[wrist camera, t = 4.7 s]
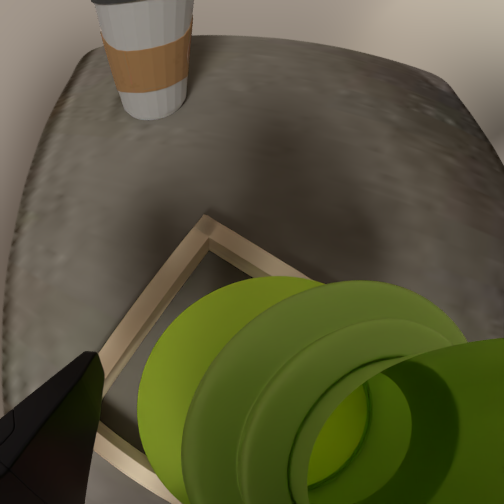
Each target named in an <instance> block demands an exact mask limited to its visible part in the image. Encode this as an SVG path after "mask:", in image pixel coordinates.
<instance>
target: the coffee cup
mask: <svg viewBox="0 0 504 504" xmlns="http://www.w3.org/2000/svg"><path fill="white" fill-rule="evenodd" d="M91 2H93V3H94V4H95V8H96V12H97V16H98V20H99V24H100V28H101V32H100V33H101V36H102V40H103V44H104V47H105V51H106V54H107V58H108V61H109V65H110V68H111V71H112V75H113V78H114V81H115V84H116V87H117V90H118V91H119V94H120V97H121V100H122V103H123V106H124V109H125V110H126V111H127V112H128V113H129V114H130V115H131V116H132V117H134V118H137V119H141V120H155V119H160V118H163V117H166V116H168V115H170V114H172V113H174V112H175V111H176V110H178V109H179V108H180V106H181V105H182V103H183V101H184V100H185V98H186V94H187V76H188V73H189V59H190V46H191V34H192V24H193V15H192V12H193V4H194V3H193V2H194V0H91Z"/></svg>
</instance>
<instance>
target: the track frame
mask: <svg viewBox="0 0 504 504" xmlns="http://www.w3.org/2000/svg"><path fill="white" fill-rule="evenodd" d="M209 250H210V251H211V252H213V253H215V254H216V255H218V256H219V257H221V258H222V259H224V260H226V261H227V262H229V263H230V264H232V265H234V266H235V267H237V268H238V269H240V270H241V271H243V272H245V273H246V274H248V275H249V276H251V277H253V278H258V277H267V276H290V277H299V278H305V279H310V278H309V277H307V276H305V275H304V274H302V273H300V272H299V271H297V270H296V269H294V268H292V267H291V266H289V265H287V264H286V263H284V262H283V261H281V260H279V259H278V258H276V257H274V256H273V255H271V254H270V253H268V252H266V251H265V250H263V249H261V248H260V247H258V246H257V245H255V244H253V243H252V242H250V241H248V240H247V239H245V238H243V237H242V236H240V235H239V234H237V233H235V232H234V231H232V230H230V229H229V228H227V227H225V226H224V225H222V224H221V223H219V222H217V221H216V220H214V219H212V218H211V217H209V216H207V215H206V214H204V215H203V216H202V217H201V219H200V220H199V221H198V222H197V223H196V225H195V226H194V227H193V228H192V230H191V231H190V232H189V233H188V235H187V236H186V237H185V238H184V240H183V241H182V242H181V243H180V245H179V246H178V247H177V248H176V250H175V251H174V252H173V253H172V255H171V256H170V257H169V258H168V260H167V261H166V262H165V264H164V265H163V266H162V267H161V269H160V270H159V271H158V273H157V274H156V275H155V276H154V278H153V279H152V280H151V282H150V283H149V284H148V286H147V287H146V288H145V290H144V291H143V292H142V294H141V295H140V296H139V298H138V299H137V300H136V302H135V303H134V304H133V306H132V307H131V309H130V310H129V311H128V313H127V314H126V315H125V317H124V318H123V320H122V321H121V322H120V324H119V325H118V326H117V328H116V329H115V331H114V332H113V333H112V335H111V336H110V338H109V339H108V341H107V342H106V343H105V345H104V346H103V348H102V349H101V351H100V352H99V354H98V355H99V357H100V360H101V363H102V366H103V369H104V373H105V380H104V387H103V395H102V399H103V398H104V396H105V395H106V393H107V392H108V390H109V389H110V387H111V386H112V384H113V383H114V381H115V380H116V378H117V377H118V376H119V374H120V373H121V371H122V370H123V368H124V367H125V365H126V364H127V362H128V361H129V360H130V358H131V357H132V355H133V354H134V352H135V351H136V350H137V348H138V347H139V345H140V344H141V342H142V341H143V340H144V338H145V337H146V335H147V334H148V333H149V331H150V330H151V328H152V327H153V326H154V324H155V323H156V321H157V320H158V319H159V317H160V316H161V314H162V313H163V312H164V310H165V309H166V308H167V306H168V305H169V303H170V302H171V301H172V299H173V298H174V297H175V295H176V294H177V293H178V291H179V290H180V288H181V287H182V286H183V284H184V283H185V282H186V280H187V279H188V278H189V276H190V275H191V274H192V272H193V271H194V270H195V268H196V267H197V266H198V264H199V263H200V262H201V260H202V259H203V258H204V256H205V255H206V254H207V252H208V251H209ZM310 280H312V279H310ZM93 450H94V451H95V452H97V453H98V454H99V455H100V456H102V457H103V458H104V459H105V460H107V461H108V462H109V463H111V464H112V465H113V466H115V467H116V468H117V469H119V470H120V471H122V472H123V473H124V474H126V475H127V476H129V477H130V478H132V479H133V480H135V481H136V482H138V483H139V484H141V485H142V486H144V487H145V488H147V489H148V490H150V491H152V492H153V493H155V494H156V495H158V496H160V497H161V498H163V499H165V500H167V501H168V502H170V503H172V504H182V503H181V502H180V501H179V500H178V499H176V498H175V497H174V496H173V495H172V494H171V493H170V492H169V490H168V489H167V488H166V487H165V486H164V485H163V483H162V482H161V481H160V479H159V478H158V476H157V475H156V473H155V472H154V470H153V468H152V467H151V465H150V463H149V461H148V458H147V456H146V455H145V454H143V453H142V452H140V451H139V450H137V449H136V448H134V447H133V446H132V445H130V444H129V443H128V442H126V441H125V440H124V439H122V438H121V437H120V436H118V435H117V434H116V433H114V432H113V431H112V430H111V429H109V428H108V427H107V426H106V425H104V424H103V423H102V422H101V421H99V425H98V429H97V434H96V439H95V444H94V449H93Z"/></svg>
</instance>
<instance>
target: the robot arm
mask: <svg viewBox="0 0 504 504" xmlns="http://www.w3.org/2000/svg"><path fill="white" fill-rule="evenodd" d="M104 380H105V373H104V369H103V366H102V363H101V360H100V357H99V355H98V353H97V352H91V351H85V352H83V353H82V354H81V355H79V356H78V357H77V358H76V359H74V360H73V361H72V362H70V363H69V364H68V365H67V366H65V367H64V368H63V369H62V370H60V371H59V372H58V373H57V374H55V375H54V376H53V377H52V378H50V379H49V380H48V381H46V382H45V383H44V384H43V385H41V386H40V387H39V388H38V389H37V390H35V391H34V392H33V393H32V394H30V395H29V396H28V397H27V398H25V399H24V400H23V401H22V402H20V403H19V404H18V405H17V406H15V407H14V410H13V409H12V410H10V411H9V412H8V413H7V414H6V415H4V416H3V417H2V418H1V419H0V504H85V497H86V490H87V483H88V477H89V471H90V465H91V459H92V454H93V449H94V444H95V439H96V434H97V429H98V425H99V420H100V413H101V403H102V395H103V387H104Z"/></svg>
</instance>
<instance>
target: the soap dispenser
mask: <svg viewBox="0 0 504 504" xmlns="http://www.w3.org/2000/svg"><path fill="white" fill-rule="evenodd" d="M137 420H138V428H139V434H140V438H141V442H142V445H143V448H144V451H145V454H146V456H147V458H148V461H149V463H150V465H151V467H152V468H153V470H154V472H155V473H156V475H157V476H158V478H159V479H160V481H161V482H162V483H163V485H164V486H165V487H166V488H167V489H168V490H169V492H170V493H171V494H172V495H173V496H174V497H175V498H176V499H178V500H179V501H180V502H181V503H182V504H504V338H499V339H490V340H482V341H475V342H469V343H468V342H467V340H466V338H465V337H464V335H463V334H462V332H461V331H460V329H459V328H458V327H457V326H456V324H455V323H454V322H453V321H452V320H451V319H450V318H449V317H448V316H447V315H446V314H445V313H444V312H443V311H442V310H441V309H440V308H438V307H437V306H436V305H435V304H433V303H432V302H431V301H429V300H427V299H426V298H424V297H423V296H421V295H419V294H417V293H415V292H413V291H411V290H408V289H406V288H403V287H400V286H397V285H393V284H389V283H384V282H378V281H368V280H352V281H341V282H334V283H329V284H324V283H320V282H317V281H314V280H310V279H305V278H299V277H290V276H267V277H258V278H252V279H247V280H243V281H239V282H236V283H232V284H230V285H227V286H224V287H222V288H220V289H217V290H215V291H213V292H211V293H209V294H207V295H206V296H204V297H202V298H201V299H199V300H198V301H196V302H195V303H193V304H192V305H191V306H189V307H188V308H187V309H186V310H184V311H183V312H182V313H181V314H180V315H179V316H178V317H177V318H176V319H175V320H174V321H173V322H172V323H171V324H170V325H169V326H168V328H167V329H166V330H165V331H164V333H163V334H162V335H161V337H160V338H159V340H158V341H157V343H156V344H155V346H154V348H153V350H152V352H151V353H150V356H149V358H148V360H147V362H146V365H145V367H144V370H143V373H142V377H141V381H140V385H139V391H138V399H137Z"/></svg>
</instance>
